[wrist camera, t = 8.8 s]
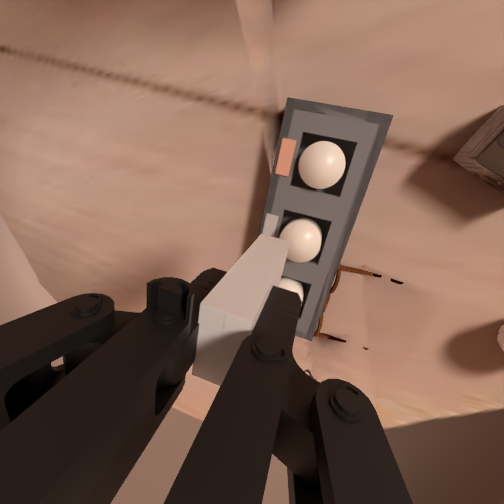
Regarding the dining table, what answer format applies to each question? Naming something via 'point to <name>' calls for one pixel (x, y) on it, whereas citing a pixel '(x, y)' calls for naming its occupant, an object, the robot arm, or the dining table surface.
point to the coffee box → (486, 151)
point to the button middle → (302, 239)
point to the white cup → (501, 337)
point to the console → (321, 191)
